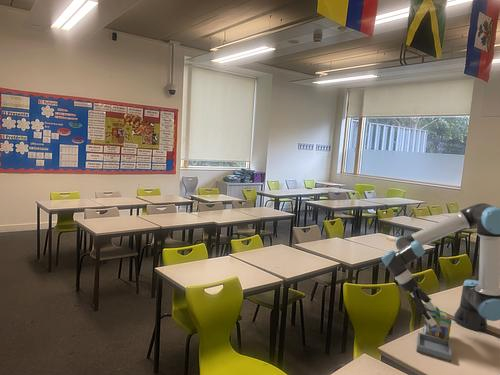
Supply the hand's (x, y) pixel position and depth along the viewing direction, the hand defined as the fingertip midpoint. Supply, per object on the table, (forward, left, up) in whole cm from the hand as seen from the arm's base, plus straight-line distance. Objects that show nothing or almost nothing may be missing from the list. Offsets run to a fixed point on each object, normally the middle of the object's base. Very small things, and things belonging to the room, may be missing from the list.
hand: (435, 319), depth 174 cm
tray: (0, +13, -9) cm, 15 cm away
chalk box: (-1, 0, -9) cm, 9 cm away
